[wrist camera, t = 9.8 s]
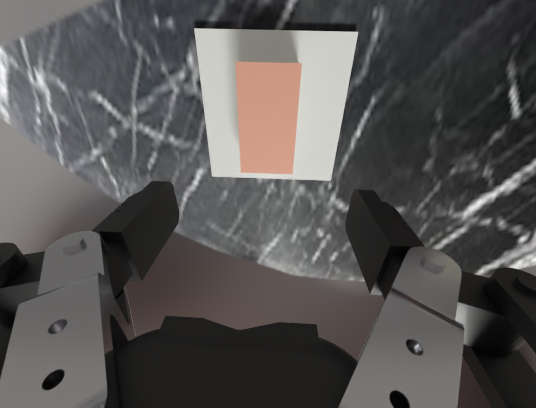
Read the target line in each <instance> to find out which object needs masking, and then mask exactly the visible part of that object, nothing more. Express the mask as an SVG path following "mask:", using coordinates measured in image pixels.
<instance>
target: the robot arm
mask: <svg viewBox="0 0 536 408" xmlns="http://www.w3.org/2000/svg"><path fill="white" fill-rule="evenodd" d="M178 221H179V209H178V205H177V200H176V196H175V191H174V187H173V185H172V183H171V182H163V181H152V182H150V183H149V184H148V185H147V186H146V187H145V188H144V189H143V190H142V191H140V192H138V193H136V194H134V195H132V196H130V197H128V198H127V199H126V200H125V201H124V202H123V203H122V204H121V206H119V207H117V208H116V209H115V211H114V212H112V213H111V214H110V215H109V216H108V217H106V219H104V220H103V221H102V222H101V223H100V224H99V225H98V226H97V227H95V228H94V229H93V230H92V231H83V232H78V233H73V234H71V235H68V236H65V237H63V238H61V239H59V240H57V241H56V242H54V243H53V244H52V245H50V246H49V247H48V249H47V250H46V251H44V252H38V253H32V254H26V255H23V254H22V253H21V251H20V250H19V249H18V247H17V246H16V245H15V244H13V243H0V408H457V403H458V394H459V384H460V374H461V364H462V356H463V357H464V359H465V361H466V363H467V364H468V366H469V368H470V370H471V371H472V373H473V375H474V377H475V379H476V380H477V382H478V384H479V386H480V387H481V389H482V391H483V393H484V395H485V396H486V398H487V400H488V402H489V404H490V405H491V407H492V408H536V373H535V372H534V370H533V369H532V368H531V366H530V365H529V364H528V363H527V361H526V360H525V359H524V358H523V356H522V355H521V353H520V352H519V351H518V348H520V347H521V346H522V345H523V344H524V343H526V342H527V343H528V344H529V345H530V347H531V348H532V349H533V351H534V352H535V353H536V276H534V275H532V274H529V273H527V272H524V271H521V270H518V269H514V268H499V269H497V270H496V271H495V272H494V273H493V275H492V276H491V277H490V278H487V277H483V276H479V275H475V274H471V273H468V272H464V271H461V269H460V267H459V266H458V264H457V263H456V262H455V261H454V260H453V259H451V258H450V257H449V256H447V255H446V254H444V253H442V252H440V251H438V250H435V249H432V248H428V247H425V246H424V245H423V243H422V242H421V241H420V239H419V238H418V237H417V236H416V234H415V233H414V232H413V230H412V229H411V228H410V227H409V225H407V223H406V221H405V220H404V219H403V218H402V216H401V215H400V214H399V212H398V211H397V210H396V209H395V208H394V207H392V206H391V205H389V204H388V203H386V202H382V201H381V199H380V198H379V197H378V195H377V194H376V192H375V191H374V190H354V192H353V194H352V198H351V202H350V206H349V210H348V214H347V218H346V232H347V235H348V238H349V240H350V243H351V245H352V248H353V251H354V253H355V256H356V258H357V261H358V264H359V266H360V269H361V272H362V274H363V277H364V279H365V282H366V284H367V287H368V290H369V292H370V294H375V295H383V297H384V300H385V301H384V303H383V305H382V307H381V309H380V312H379V314H378V316H377V318H376V320H375V323H374V325H373V327H372V329H371V332H370V334H369V336H368V338H367V340H366V342H365V345H364V347H363V349H362V351H361V353H360V356H359V358H358V360H357V361H356V360H355V359H354V358H353V357H352V356H351V355H349V354H348V353H347V352H346V351H344V350H343V349H341V348H340V347H338V346H336V345H335V344H333V343H331V342H329V341H327V340H325V339H322V338H319V337H318V331H317V325H316V324H300V323H282V322H279V323H273V324H268V325H263V326H258V327H254V328H249V329H244V330H236V329H233V328H230V327H227V326H224V325H221V324H218V323H215V322H212V321H209V320H206V319H204V318H193V317H175V316H166V317H165V319H164V321H163V323H162V325H161V328H160V329H157V330H153V331H150V332H147V333H145V334H142V335H140V336H137V337H136V335H135V331H134V327H133V322H132V317H131V313H130V307H129V302H128V297H127V292H126V290H125V287H124V286H125V284H126V283H127V281H142V280H143V278H144V277H145V275H146V274H147V272H148V270H149V269H150V267H151V266H152V264H153V262H154V261H155V259H156V258H157V256H158V254H159V253H160V251H161V250H162V248H163V246H164V245H165V243H166V242H167V240H168V238H169V237H170V235H171V234H172V232H173V230H174V229H175V227H176V226H177V224H178Z"/></svg>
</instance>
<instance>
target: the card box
mask: <svg viewBox="0 0 536 408" xmlns="http://www.w3.org/2000/svg"><path fill="white" fill-rule="evenodd" d="M235 65H236V85H237V106H238V126H239V147H240V167H241V173H268V174H293V164H294V152H295V140H296V128H297V116H298V104H299V92H300V80H301V68H302V63H296V62H251V61H239V62H235Z"/></svg>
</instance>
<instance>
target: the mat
mask: <svg viewBox="0 0 536 408" xmlns="http://www.w3.org/2000/svg"><path fill="white" fill-rule="evenodd" d="M194 30H195V39H196V47H197V55H198V63H199V72H200V80H201V88H202V96H203V105H204V113H205V121H206V130H207V138H208V146H209V154H210V163H211V171H212V176H215V177H243V178H271V179H299V180H327V181H331V176H332V171H333V166H334V160H335V155H336V150H337V144H338V139H339V133H340V128H341V123H342V117H343V112H344V106H345V101H346V96H347V90H348V85H349V79H350V74H351V69H352V63H353V58H354V52H355V47H356V42H357V36H358V32H340V31H293V30H246V29H199V28H194ZM239 61H251V62H296V63H302V68H301V80H300V92H299V104H298V116H297V128H296V140H295V152H294V164H293V174H268V173H241V167H240V147H239V126H238V106H237V85H236V65H235V62H239Z"/></svg>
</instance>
